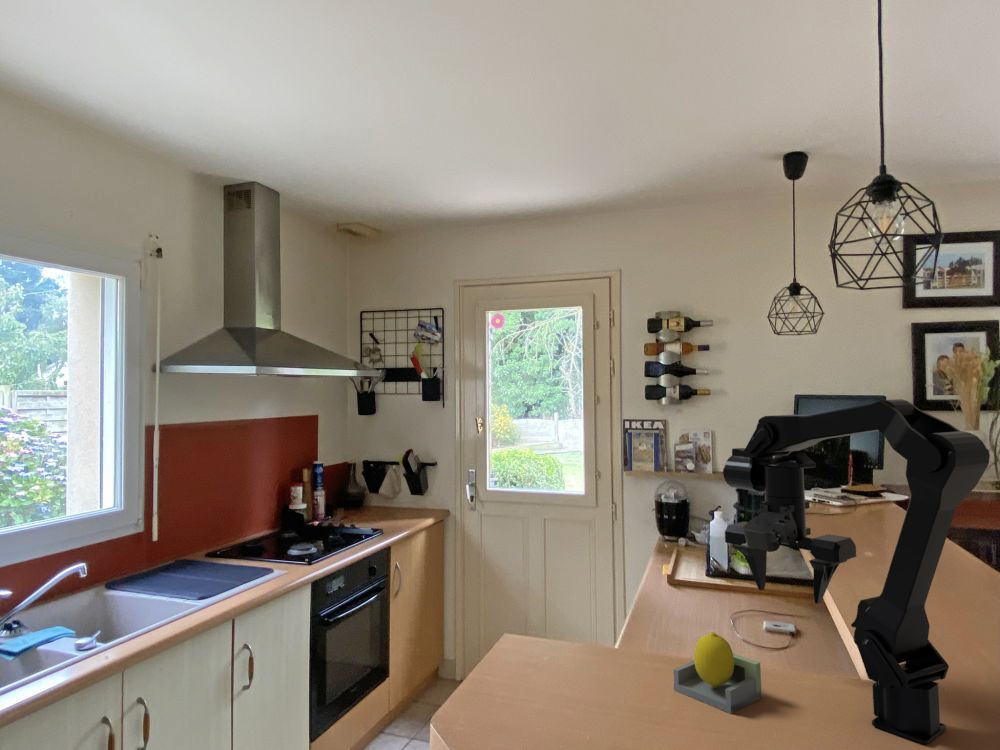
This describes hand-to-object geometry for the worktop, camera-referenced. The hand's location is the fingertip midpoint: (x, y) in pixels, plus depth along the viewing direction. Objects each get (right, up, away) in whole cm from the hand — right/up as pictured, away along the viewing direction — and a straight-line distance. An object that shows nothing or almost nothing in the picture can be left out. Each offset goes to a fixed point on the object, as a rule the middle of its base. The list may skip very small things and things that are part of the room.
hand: (788, 596), depth 102 cm
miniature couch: (-13, -12, -6) cm, 19 cm away
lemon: (-14, -11, -7) cm, 19 cm away
